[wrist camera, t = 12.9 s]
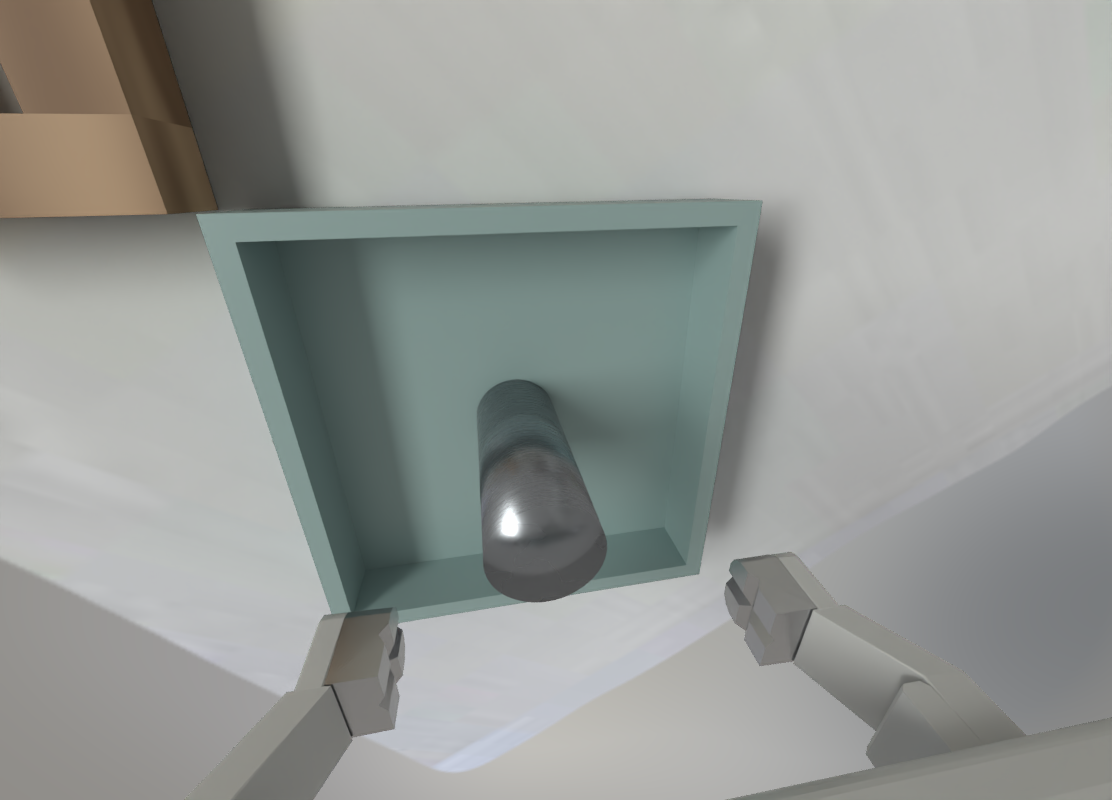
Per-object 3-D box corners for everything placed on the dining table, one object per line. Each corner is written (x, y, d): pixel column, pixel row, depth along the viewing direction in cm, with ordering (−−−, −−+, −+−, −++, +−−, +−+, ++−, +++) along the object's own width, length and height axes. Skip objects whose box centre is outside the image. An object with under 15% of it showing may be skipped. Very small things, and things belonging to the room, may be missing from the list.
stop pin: (552, 376, 20) (609, 498, 12) (554, 443, 22) (605, 591, 14) (473, 382, 20) (477, 515, 12) (480, 451, 21) (488, 610, 13)
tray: (713, 198, 19) (762, 200, 16) (671, 528, 26) (699, 574, 23) (248, 209, 16) (196, 214, 13) (355, 574, 24) (338, 633, 21)
